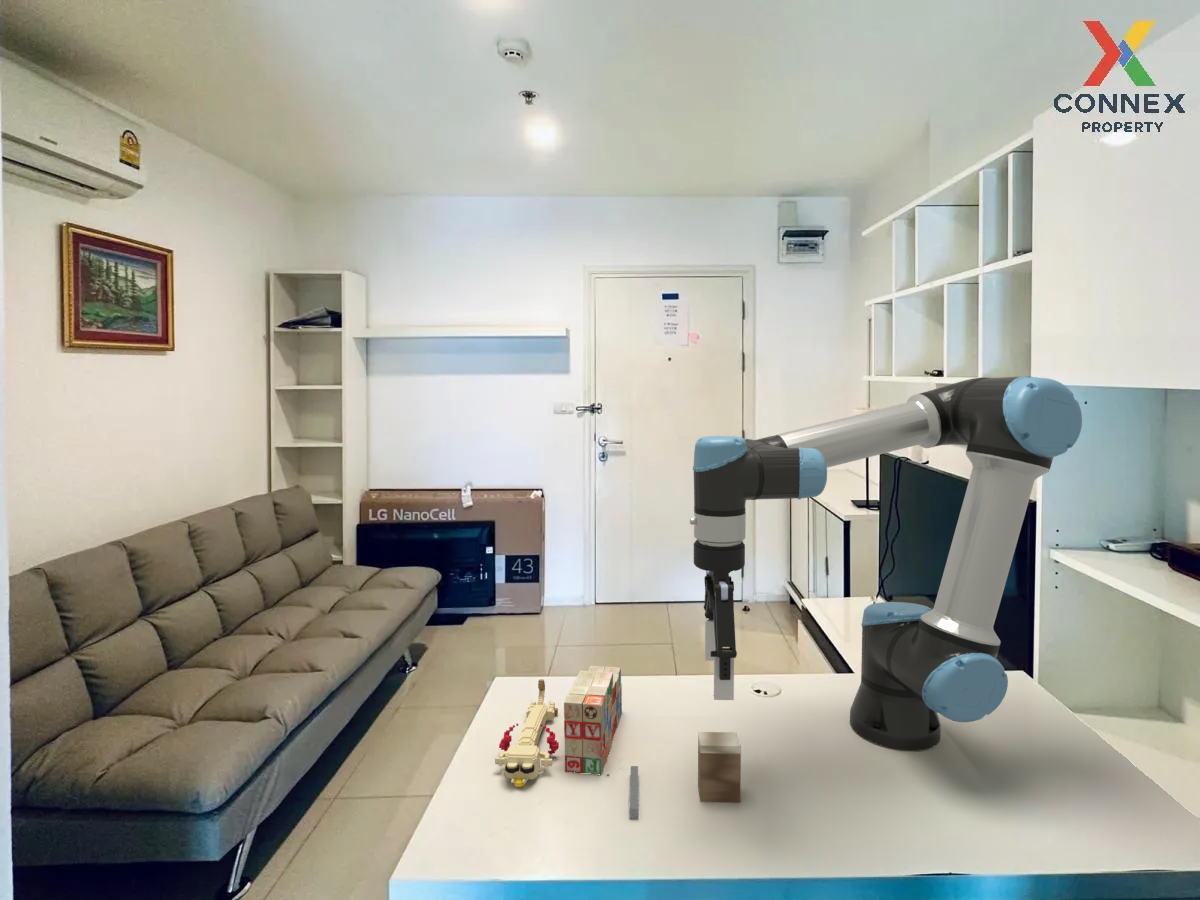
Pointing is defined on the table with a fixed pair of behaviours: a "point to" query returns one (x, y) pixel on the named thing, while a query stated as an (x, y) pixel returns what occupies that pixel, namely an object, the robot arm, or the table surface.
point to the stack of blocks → (592, 718)
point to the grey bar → (634, 792)
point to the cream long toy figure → (529, 743)
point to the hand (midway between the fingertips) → (718, 678)
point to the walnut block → (719, 767)
